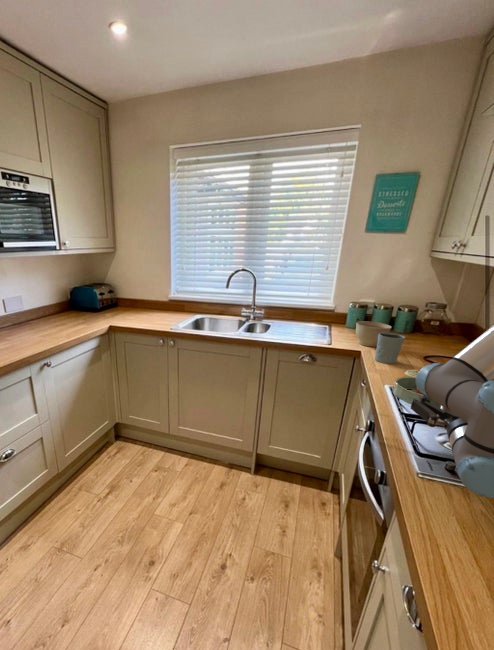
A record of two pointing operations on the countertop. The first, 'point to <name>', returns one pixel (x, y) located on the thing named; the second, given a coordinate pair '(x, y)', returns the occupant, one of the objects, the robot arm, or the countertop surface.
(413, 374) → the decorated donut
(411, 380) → the bowl
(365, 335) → the planter bowl
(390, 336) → the blue grey cup
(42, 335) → the countertop surface
